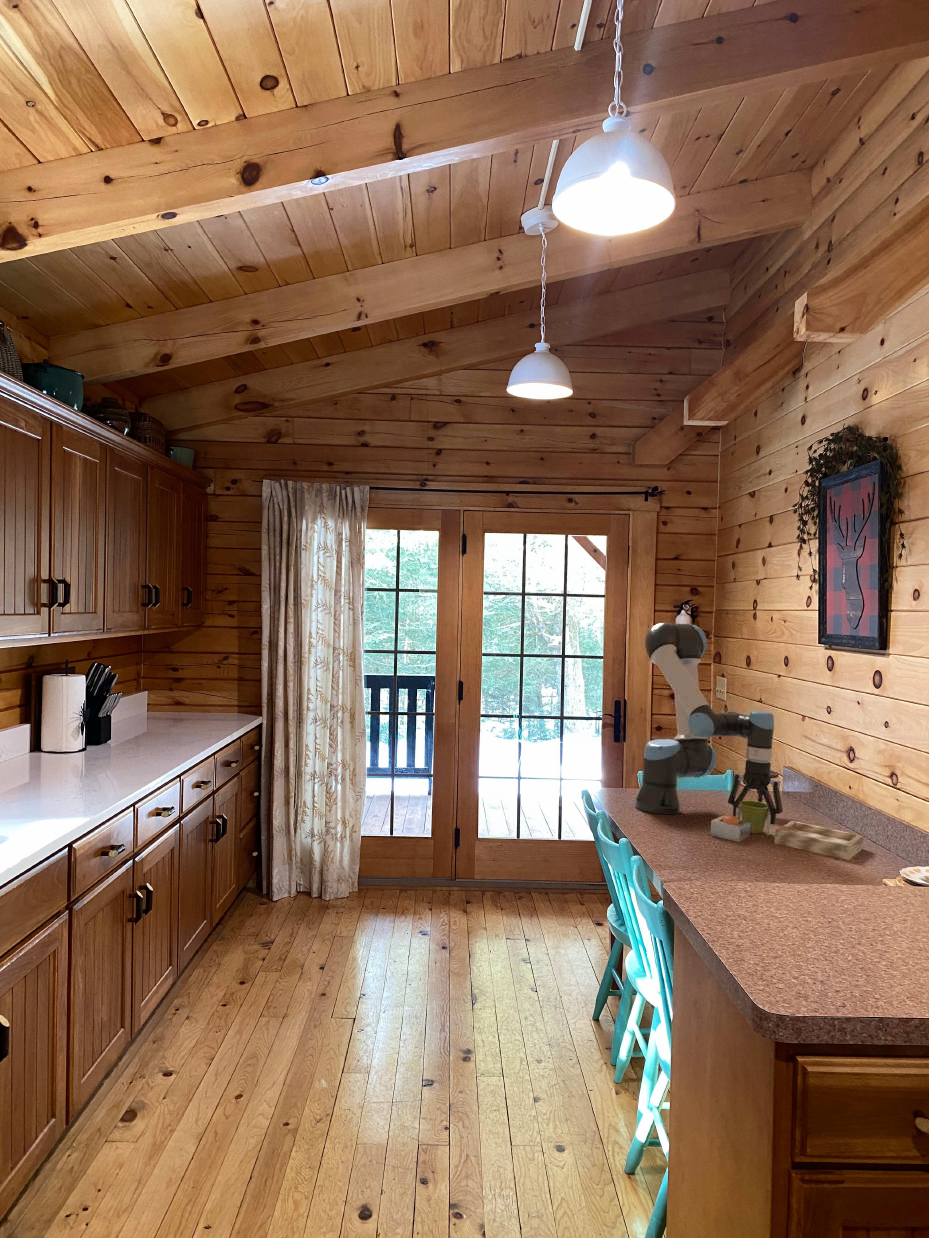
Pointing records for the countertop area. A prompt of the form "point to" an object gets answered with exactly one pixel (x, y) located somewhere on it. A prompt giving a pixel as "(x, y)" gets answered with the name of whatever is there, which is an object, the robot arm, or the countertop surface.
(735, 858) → the countertop surface
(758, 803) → the plant pot
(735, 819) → the button
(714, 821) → the button housing
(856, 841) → the tray
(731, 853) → the countertop surface
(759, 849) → the countertop surface
